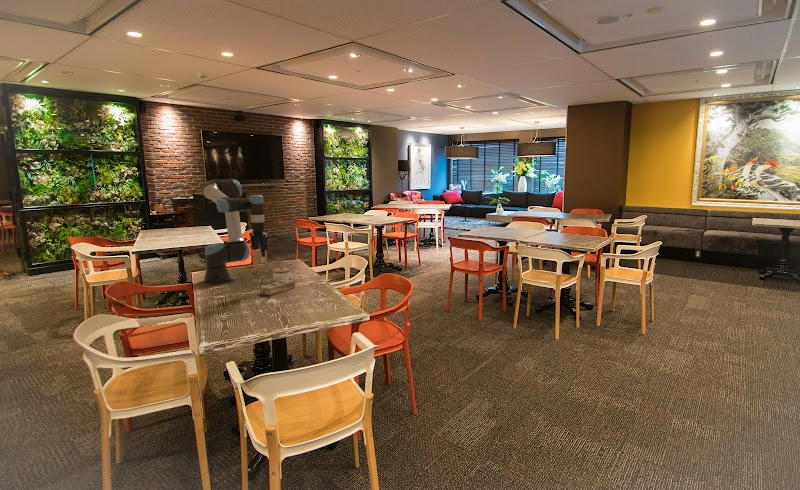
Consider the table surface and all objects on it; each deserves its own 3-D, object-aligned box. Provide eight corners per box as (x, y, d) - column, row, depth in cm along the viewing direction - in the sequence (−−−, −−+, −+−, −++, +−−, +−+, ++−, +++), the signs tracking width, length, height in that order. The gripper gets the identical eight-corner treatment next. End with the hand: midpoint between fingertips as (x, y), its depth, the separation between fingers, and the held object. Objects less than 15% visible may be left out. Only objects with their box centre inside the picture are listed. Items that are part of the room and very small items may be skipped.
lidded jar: (293, 279, 276) (292, 265, 274) (287, 283, 266) (286, 269, 264) (277, 279, 277) (276, 265, 275) (270, 283, 267) (269, 268, 265)
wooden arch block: (253, 265, 247) (252, 250, 245) (263, 263, 253) (262, 248, 252) (257, 266, 245) (256, 250, 244) (267, 263, 252) (266, 248, 250)
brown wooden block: (260, 293, 245) (259, 286, 244) (285, 285, 262) (285, 279, 261) (270, 295, 241) (269, 288, 240) (295, 287, 258) (294, 280, 257)
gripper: (242, 221, 246) (245, 261, 250) (262, 223, 238) (265, 264, 242) (253, 220, 253) (256, 259, 256) (272, 221, 244) (275, 261, 248)
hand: (260, 261), depth 249 cm, fingers closed on wooden arch block, 3 cm apart
